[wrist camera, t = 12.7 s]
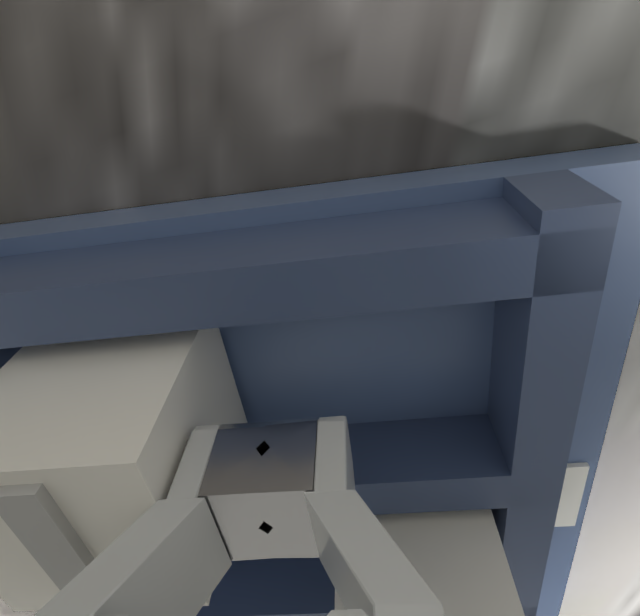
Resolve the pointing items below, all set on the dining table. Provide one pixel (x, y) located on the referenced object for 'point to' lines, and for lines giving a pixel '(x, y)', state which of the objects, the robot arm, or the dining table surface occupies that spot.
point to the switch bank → (383, 334)
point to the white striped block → (96, 445)
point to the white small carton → (457, 560)
